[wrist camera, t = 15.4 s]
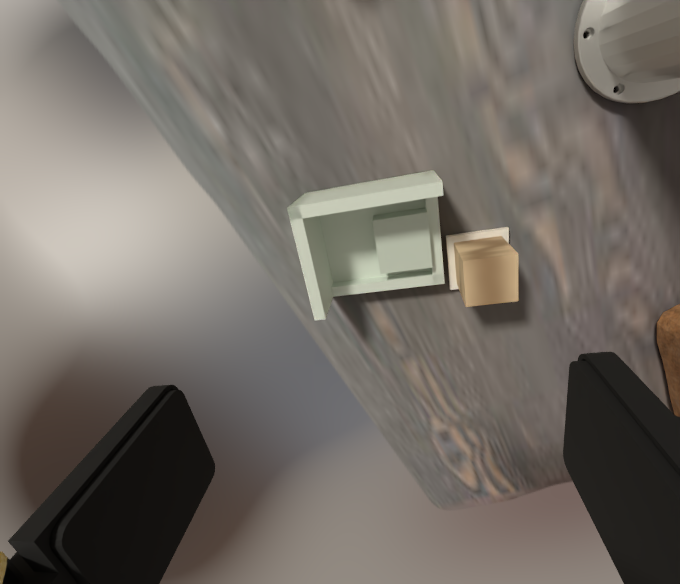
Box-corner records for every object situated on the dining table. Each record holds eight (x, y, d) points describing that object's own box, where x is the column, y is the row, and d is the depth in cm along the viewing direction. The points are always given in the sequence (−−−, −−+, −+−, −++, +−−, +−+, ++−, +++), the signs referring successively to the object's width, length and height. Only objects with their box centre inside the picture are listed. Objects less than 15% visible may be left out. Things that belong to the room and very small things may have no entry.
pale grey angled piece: (433, 170, 38) (442, 181, 31) (441, 275, 43) (451, 306, 36) (305, 192, 41) (287, 207, 34) (326, 289, 46) (314, 320, 39)
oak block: (501, 235, 40) (518, 253, 34) (502, 277, 42) (518, 301, 36) (453, 242, 41) (462, 261, 35) (456, 283, 43) (465, 307, 37)
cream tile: (507, 226, 40) (508, 228, 39) (507, 281, 42) (509, 283, 42) (445, 235, 41) (446, 237, 41) (449, 287, 44) (450, 290, 43)
